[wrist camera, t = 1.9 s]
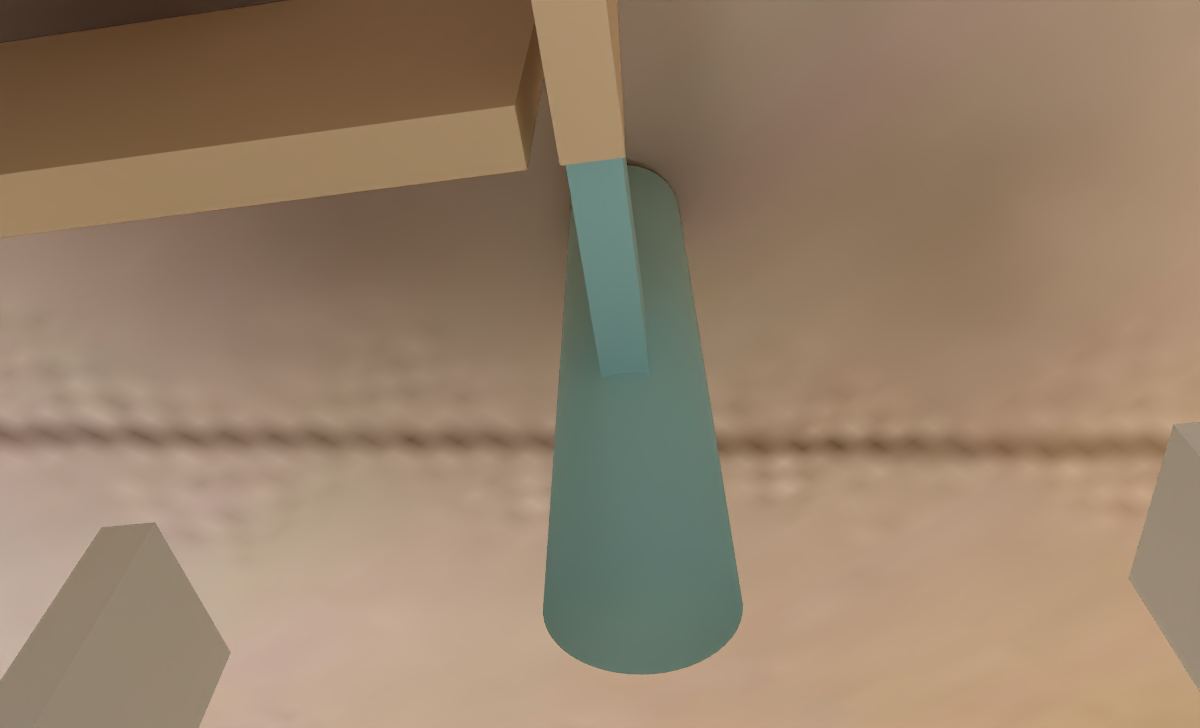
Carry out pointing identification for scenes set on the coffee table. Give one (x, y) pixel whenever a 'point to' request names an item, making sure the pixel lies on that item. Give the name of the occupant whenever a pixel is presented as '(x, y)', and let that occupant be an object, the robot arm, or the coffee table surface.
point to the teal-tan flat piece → (627, 391)
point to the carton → (262, 107)
